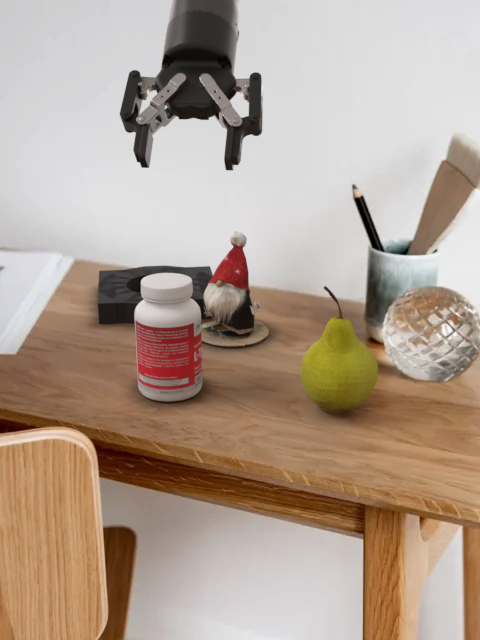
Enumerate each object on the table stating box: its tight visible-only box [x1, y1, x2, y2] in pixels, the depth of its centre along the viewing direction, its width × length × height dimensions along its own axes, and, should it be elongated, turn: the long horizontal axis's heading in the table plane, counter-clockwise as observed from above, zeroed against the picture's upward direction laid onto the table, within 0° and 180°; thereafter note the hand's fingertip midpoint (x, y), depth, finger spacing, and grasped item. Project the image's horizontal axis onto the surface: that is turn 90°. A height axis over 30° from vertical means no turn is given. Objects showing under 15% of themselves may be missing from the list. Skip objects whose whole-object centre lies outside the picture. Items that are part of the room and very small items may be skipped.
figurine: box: [201, 230, 270, 348], centre depth 93 cm, size 8×10×12 cm
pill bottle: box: [133, 273, 203, 403], centre depth 79 cm, size 6×6×11 cm
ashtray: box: [97, 265, 214, 325], centre depth 102 cm, size 14×14×2 cm
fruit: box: [300, 285, 379, 415], centre depth 75 cm, size 7×7×12 cm
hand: (186, 164), depth 83 cm, fingers open, 8 cm apart
